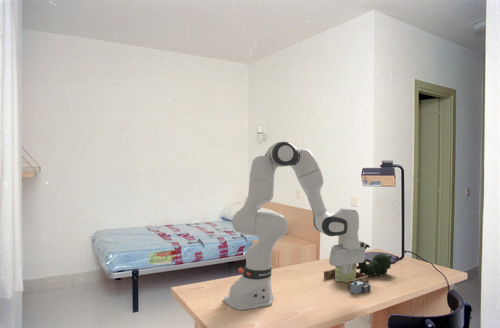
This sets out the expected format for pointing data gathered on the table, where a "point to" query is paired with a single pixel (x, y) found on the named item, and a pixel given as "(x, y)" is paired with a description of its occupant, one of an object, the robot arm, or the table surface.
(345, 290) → the table surface
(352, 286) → the blue block with knob
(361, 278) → the wooden square frame
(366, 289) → the bracket
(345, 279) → the box
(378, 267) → the toy figurine
